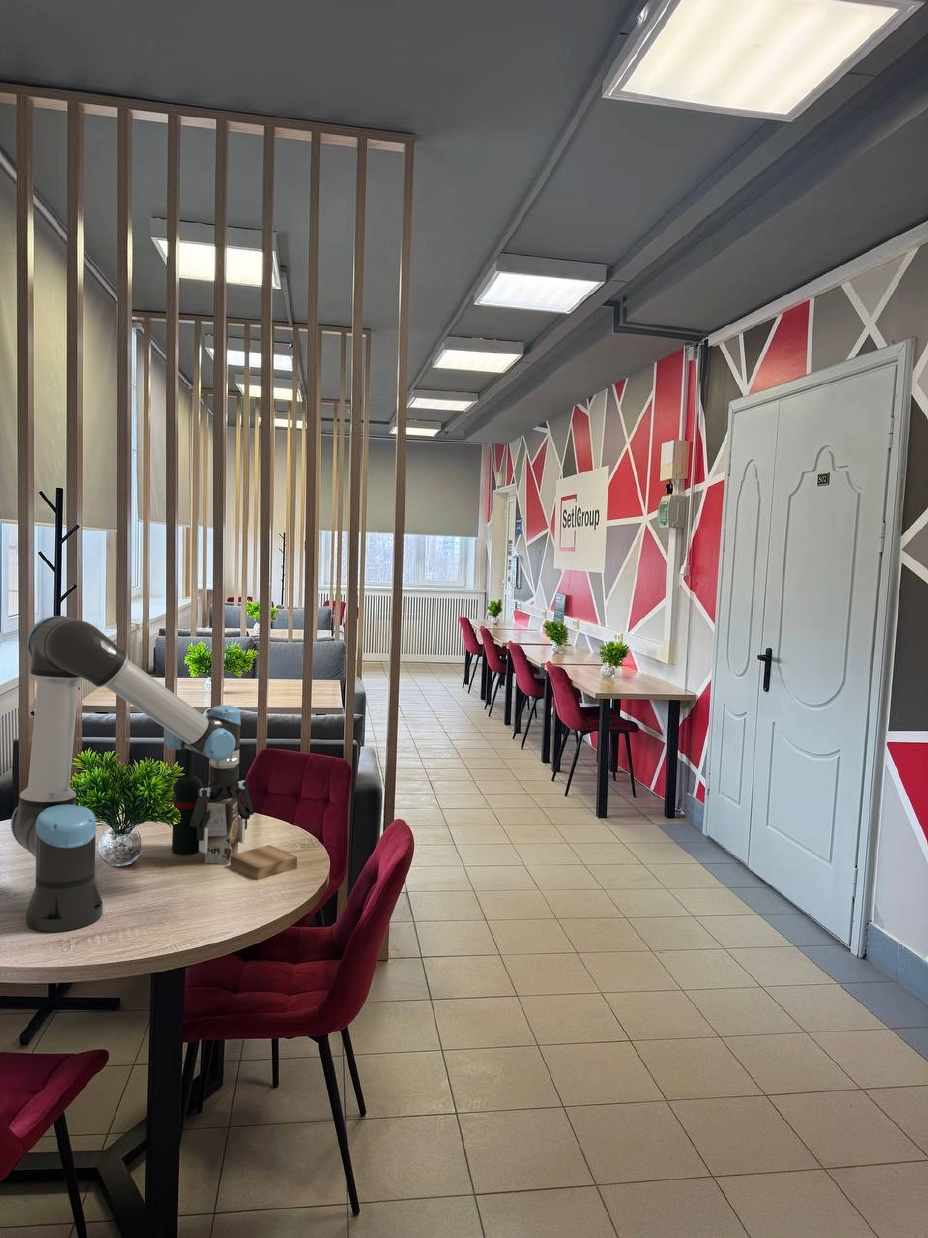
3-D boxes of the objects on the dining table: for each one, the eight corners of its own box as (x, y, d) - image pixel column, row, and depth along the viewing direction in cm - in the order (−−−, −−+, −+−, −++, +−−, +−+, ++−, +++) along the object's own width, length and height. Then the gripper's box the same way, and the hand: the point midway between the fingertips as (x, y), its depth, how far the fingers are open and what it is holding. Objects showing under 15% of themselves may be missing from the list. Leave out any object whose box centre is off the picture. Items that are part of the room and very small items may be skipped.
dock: (257, 880, 209) (258, 868, 209) (230, 866, 217) (230, 855, 216) (296, 868, 218) (297, 856, 218) (268, 856, 226) (269, 845, 225)
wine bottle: (207, 856, 223) (209, 745, 221) (167, 855, 223) (170, 744, 221) (213, 846, 231) (216, 738, 229) (175, 845, 230) (178, 737, 228)
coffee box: (228, 864, 218) (230, 803, 217) (204, 863, 218) (205, 802, 217) (238, 852, 227) (240, 794, 226) (215, 851, 227) (216, 792, 226)
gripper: (192, 775, 210) (190, 861, 211) (269, 761, 227) (266, 840, 229) (176, 769, 215) (174, 853, 216) (252, 756, 232) (250, 834, 234)
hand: (222, 847), depth 222 cm, fingers closed on coffee box, 11 cm apart
